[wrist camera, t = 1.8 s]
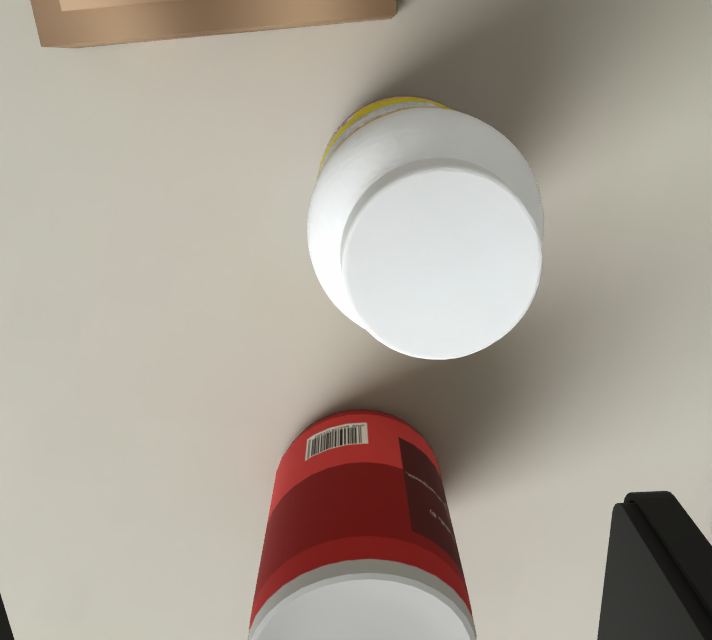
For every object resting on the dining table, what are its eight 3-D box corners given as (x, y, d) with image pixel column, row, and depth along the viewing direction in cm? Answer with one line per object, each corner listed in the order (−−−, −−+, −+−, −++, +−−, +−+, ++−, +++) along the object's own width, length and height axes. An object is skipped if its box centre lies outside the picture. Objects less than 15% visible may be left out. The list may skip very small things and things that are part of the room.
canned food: (247, 498, 33) (202, 697, 23) (333, 374, 31) (326, 533, 20) (377, 565, 35) (390, 779, 24) (469, 451, 32) (527, 635, 22)
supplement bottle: (496, 234, 28) (607, 363, 16) (345, 275, 29) (344, 429, 17) (463, 71, 26) (562, 81, 14) (298, 119, 27) (259, 168, 15)
